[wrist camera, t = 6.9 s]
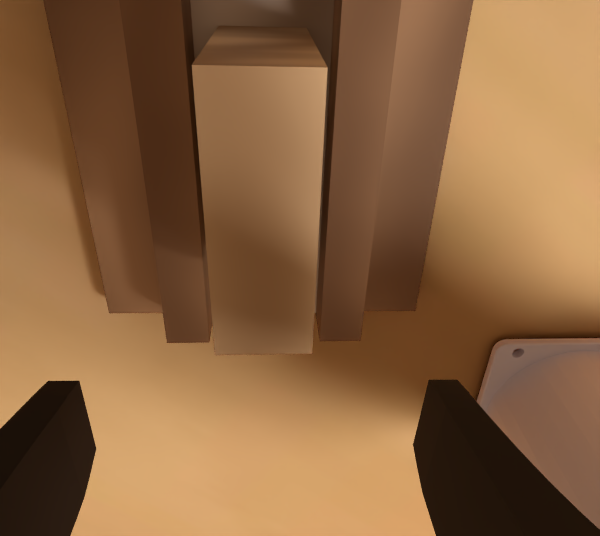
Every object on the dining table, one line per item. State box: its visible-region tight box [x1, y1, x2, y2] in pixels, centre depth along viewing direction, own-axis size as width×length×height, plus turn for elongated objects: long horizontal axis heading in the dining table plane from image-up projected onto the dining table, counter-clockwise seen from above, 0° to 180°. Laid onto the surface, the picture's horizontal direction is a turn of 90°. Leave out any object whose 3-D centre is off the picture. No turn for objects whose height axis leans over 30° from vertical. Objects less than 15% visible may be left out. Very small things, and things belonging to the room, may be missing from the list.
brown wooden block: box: [192, 26, 328, 355], centre depth 14 cm, size 3×7×6 cm, turn 178°
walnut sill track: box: [44, 0, 473, 343], centre depth 14 cm, size 12×16×5 cm
